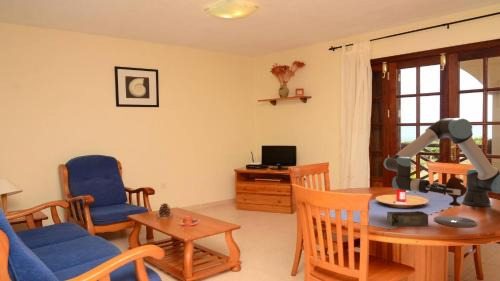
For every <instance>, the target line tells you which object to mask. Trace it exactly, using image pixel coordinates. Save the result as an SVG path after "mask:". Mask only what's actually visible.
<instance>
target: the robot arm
mask: <svg viewBox="0 0 500 281" xmlns="http://www.w3.org/2000/svg"><path fill="white" fill-rule="evenodd" d="M473 135H474V133H473V125H472V124H471V122H470V121H469V120H468V119H465V118H461V117H454V118H442V119H439V120H437V121H436V122H434V123H432V124H431V125H430V126H428V127H427V128H425V130H424V132H423V133H422V134H421V135H419V136H418V137H417V138H415V139H413V140H412V141H411V142H410V143H409V144H407V145H406V146H405V147H404V148H402V149H401V150H400V151H398V152H397V153H396V154H394V155H393V156H391V157H387V158H385V159H384V161H383V166H384V168H385V169H386V170H388V171H393V172H396V176H394V177H393V178H392V182H391V186H392V188H393V189H395V190H399V191H405V192H406V191H407V192H413V193H415V194H416V193H423V194H428V193H429V192H432V193H436V194H442V195H443V196H446V195H448V194H454V195H460V194H461V190H458V189H449V188H446V189H445V188H444V186H446V183H444V184H443V183H430V181H429V180H428V179H423V178H422V179H421V178H413V177H412V176H411V174H412V158H413V157H415V156H416V155H418V154H419V153H421V152H422V151H423V150H424V149H426V147H428V146H429V145H431V144H433V142H438V141H439V140H440V139H442V138H448V139H450V141H451V142H452V144H453V145H458V147H459V149H460V150H461V151H462V153H463V155H465V157H466V158H467V160H468V161H469V163H470V164H471V165H472V167H473V168H469V169H467V171H466V184H465V185H466V186H465V187H466V188H467V191H466V193H465V194H464V195H463V196H464V197H463V199H462V204H464V205H466V206H472V207H483V208H484V207H485V208H486V207H490V206H491V203H492V202H491V200H490V197H489V194H488V192H490V193H494V194H500V170H499V169H498V168H497V167H496V166H493V165H492V164H491V162H490V161H489V159H488V158H487V156H486V155H485V154H484V152H483V151H482V149H481V148H480V147H479V145H478V143H477V142H476V141H475V139H474V138H473Z"/></svg>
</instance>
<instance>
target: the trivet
mask: <svg viewBox="0 0 500 281" xmlns="http://www.w3.org/2000/svg"><path fill="white" fill-rule="evenodd" d="M433 221H434V222H435V223H437V224H440V225H444V226H448V227H454V228H474V227H477V225H478V223H477V221H475V220H473V219H471V218H467V217H462V216H457V215H456V216H455V215H438V216H437V215H436V216H434V217H433Z"/></svg>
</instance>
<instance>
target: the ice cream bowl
mask: <svg viewBox="0 0 500 281" xmlns="http://www.w3.org/2000/svg"><path fill="white" fill-rule="evenodd" d="M445 184H446V186H444V188H445V189H446V188H449V189H458V190H461V194H460V195H454V194H447V195H448V196H449V197H450V198H451V197H452V201H451V202H449V204H448V205H449V206H453V207H461V203H460V202H458V200H457V199H458V198H461V197H462V196H465V194H466V191H467V188H466V186H465V185H463V183H462V181H461V179H460V178H458V177H455V176H452V177H450V178H449V179H448V180H447V182H446V183H445Z"/></svg>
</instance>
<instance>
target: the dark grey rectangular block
mask: <svg viewBox="0 0 500 281" xmlns="http://www.w3.org/2000/svg"><path fill="white" fill-rule="evenodd" d="M386 223H387V224H388V225H390V226H391V227H428V226H429V214H427V213H426V212H423V211H419V210H417V211H387V212H386Z"/></svg>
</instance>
